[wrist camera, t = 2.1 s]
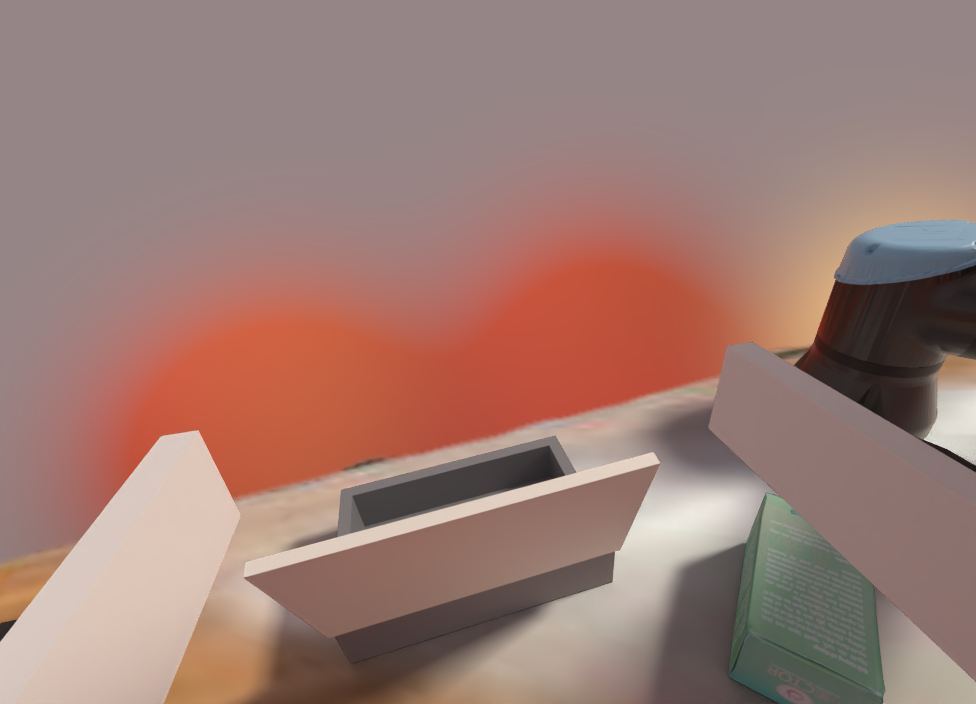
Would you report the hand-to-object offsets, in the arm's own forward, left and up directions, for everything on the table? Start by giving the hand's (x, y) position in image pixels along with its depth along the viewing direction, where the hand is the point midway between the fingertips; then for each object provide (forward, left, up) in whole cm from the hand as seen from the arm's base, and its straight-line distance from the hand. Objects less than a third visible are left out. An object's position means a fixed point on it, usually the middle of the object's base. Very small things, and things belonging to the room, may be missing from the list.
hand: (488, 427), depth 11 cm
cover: (+1, -10, -19) cm, 22 cm away
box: (-23, -4, -33) cm, 40 cm away
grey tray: (+1, -19, -32) cm, 37 cm away
